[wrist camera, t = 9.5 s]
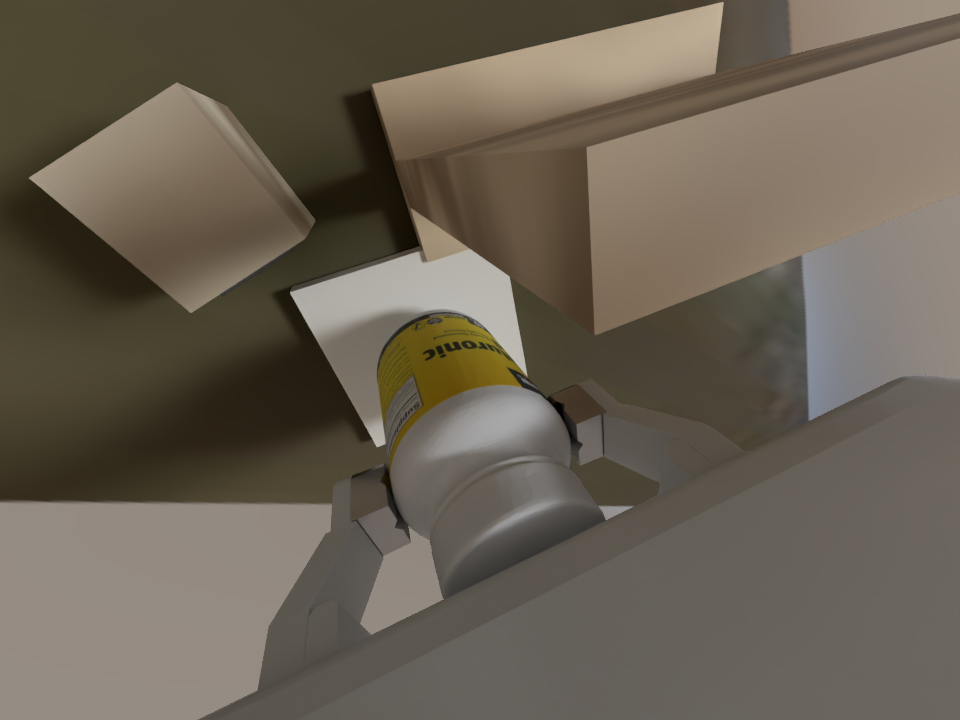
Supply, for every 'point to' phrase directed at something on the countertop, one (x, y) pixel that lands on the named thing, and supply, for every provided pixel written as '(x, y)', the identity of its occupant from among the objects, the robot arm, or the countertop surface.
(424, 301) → the coaster
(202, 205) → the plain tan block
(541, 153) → the tan t-shaped stand
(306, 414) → the countertop surface
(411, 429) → the supplement bottle
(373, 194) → the countertop surface
